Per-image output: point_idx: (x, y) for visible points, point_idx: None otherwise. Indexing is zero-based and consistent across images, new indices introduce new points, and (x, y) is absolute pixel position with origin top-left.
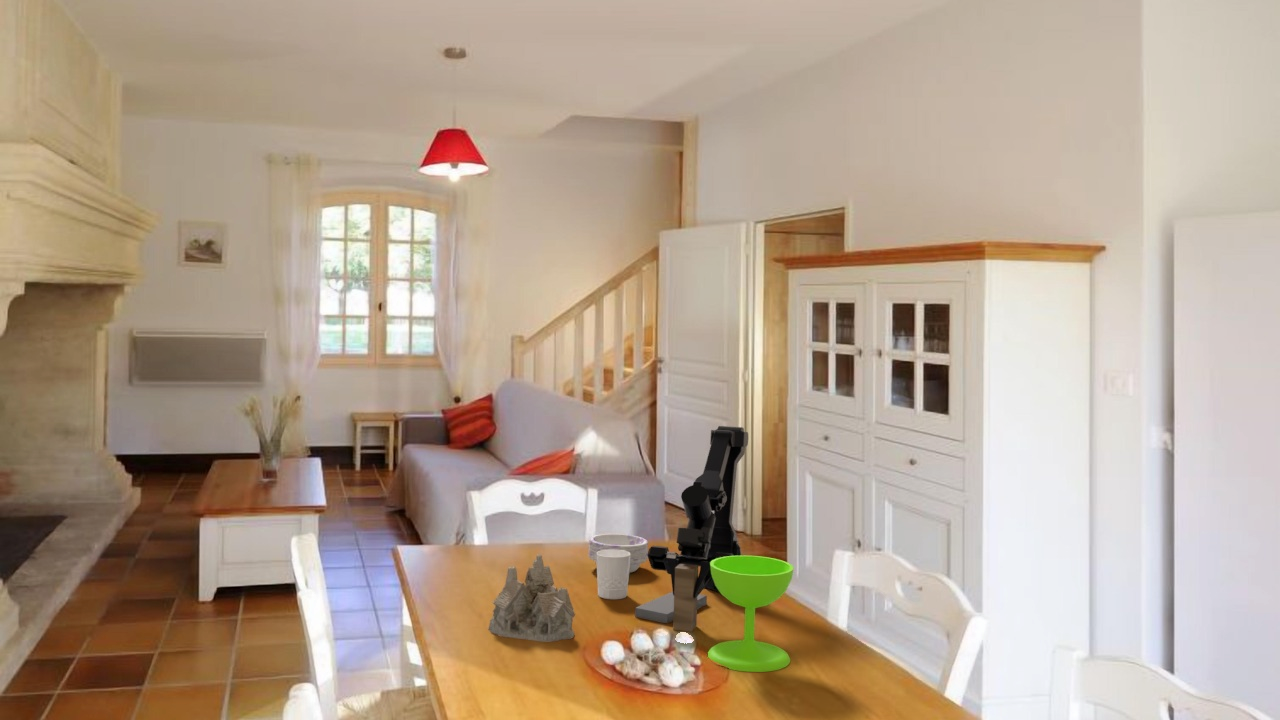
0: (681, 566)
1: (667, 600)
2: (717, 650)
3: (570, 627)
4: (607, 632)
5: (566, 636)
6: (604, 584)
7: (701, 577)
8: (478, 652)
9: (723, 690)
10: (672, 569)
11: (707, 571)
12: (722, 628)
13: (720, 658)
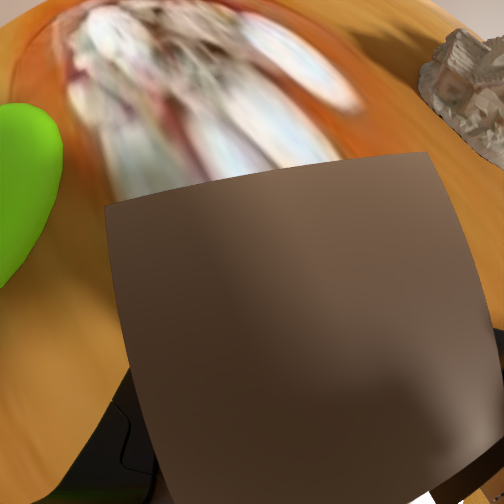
0: (426, 293)
1: (430, 499)
2: (29, 139)
3: (436, 83)
4: None
5: (422, 81)
6: None
7: (117, 432)
8: (428, 18)
9: (20, 41)
10: (499, 347)
11: (44, 498)
12: None
13: (20, 105)
